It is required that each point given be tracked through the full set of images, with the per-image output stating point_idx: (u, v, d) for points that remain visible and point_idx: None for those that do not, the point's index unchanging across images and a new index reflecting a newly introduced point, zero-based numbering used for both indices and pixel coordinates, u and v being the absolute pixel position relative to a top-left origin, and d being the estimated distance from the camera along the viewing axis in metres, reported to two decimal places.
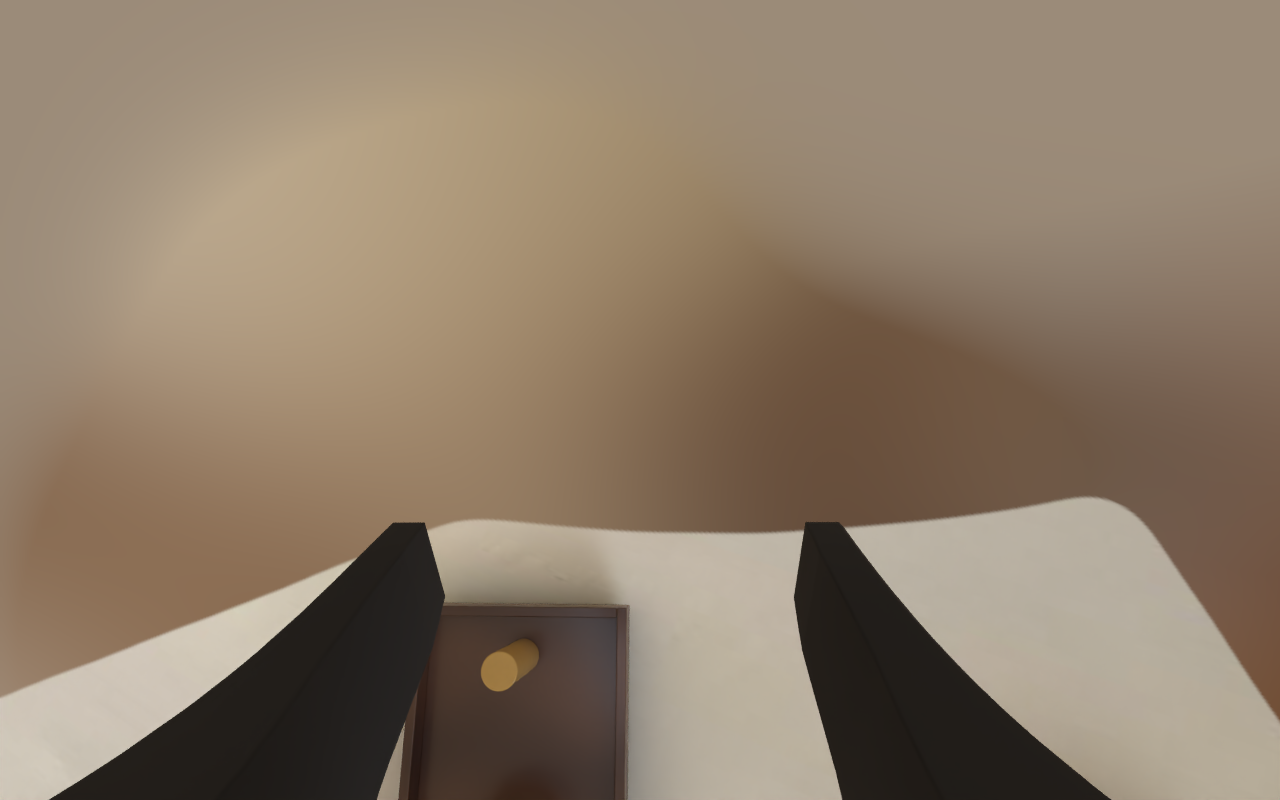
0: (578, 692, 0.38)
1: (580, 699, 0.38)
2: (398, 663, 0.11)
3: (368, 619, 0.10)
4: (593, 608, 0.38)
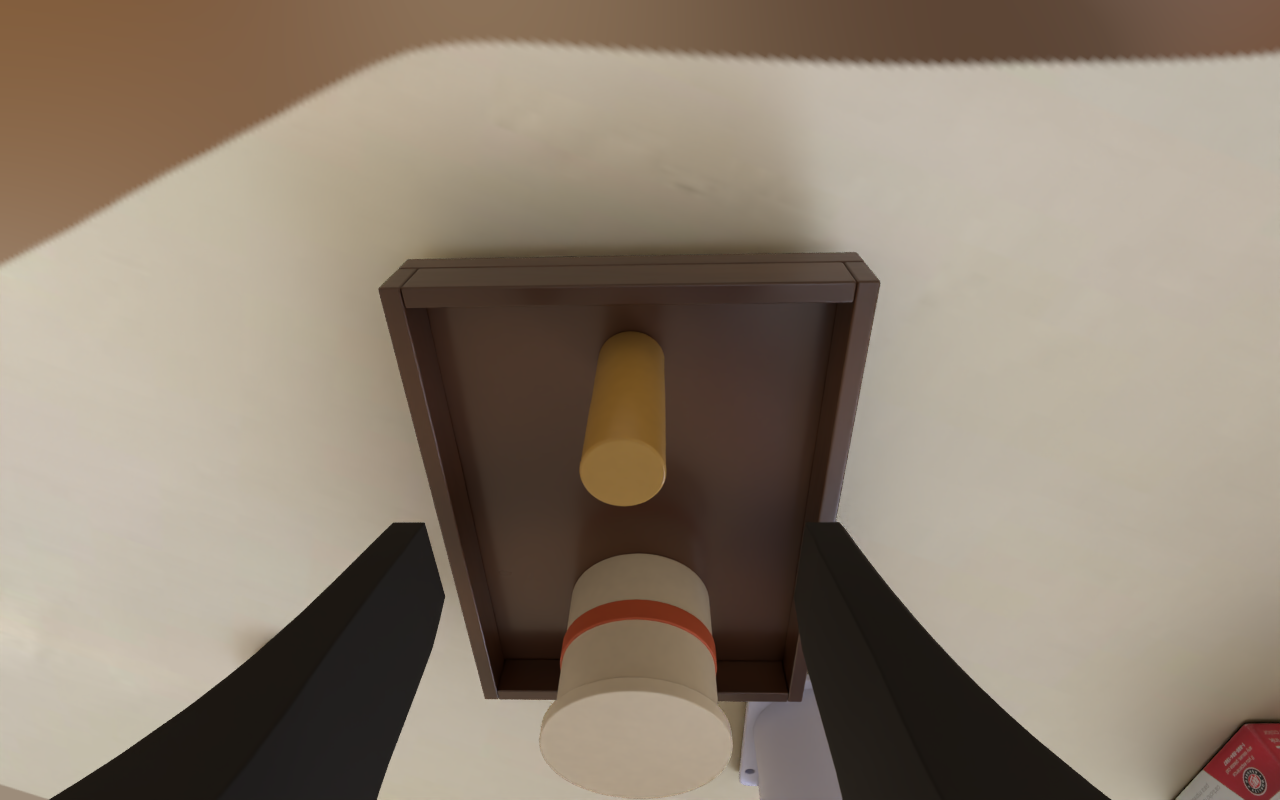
0: (744, 416, 0.20)
1: (746, 426, 0.20)
2: (398, 663, 0.11)
3: (368, 619, 0.10)
4: (801, 284, 0.16)
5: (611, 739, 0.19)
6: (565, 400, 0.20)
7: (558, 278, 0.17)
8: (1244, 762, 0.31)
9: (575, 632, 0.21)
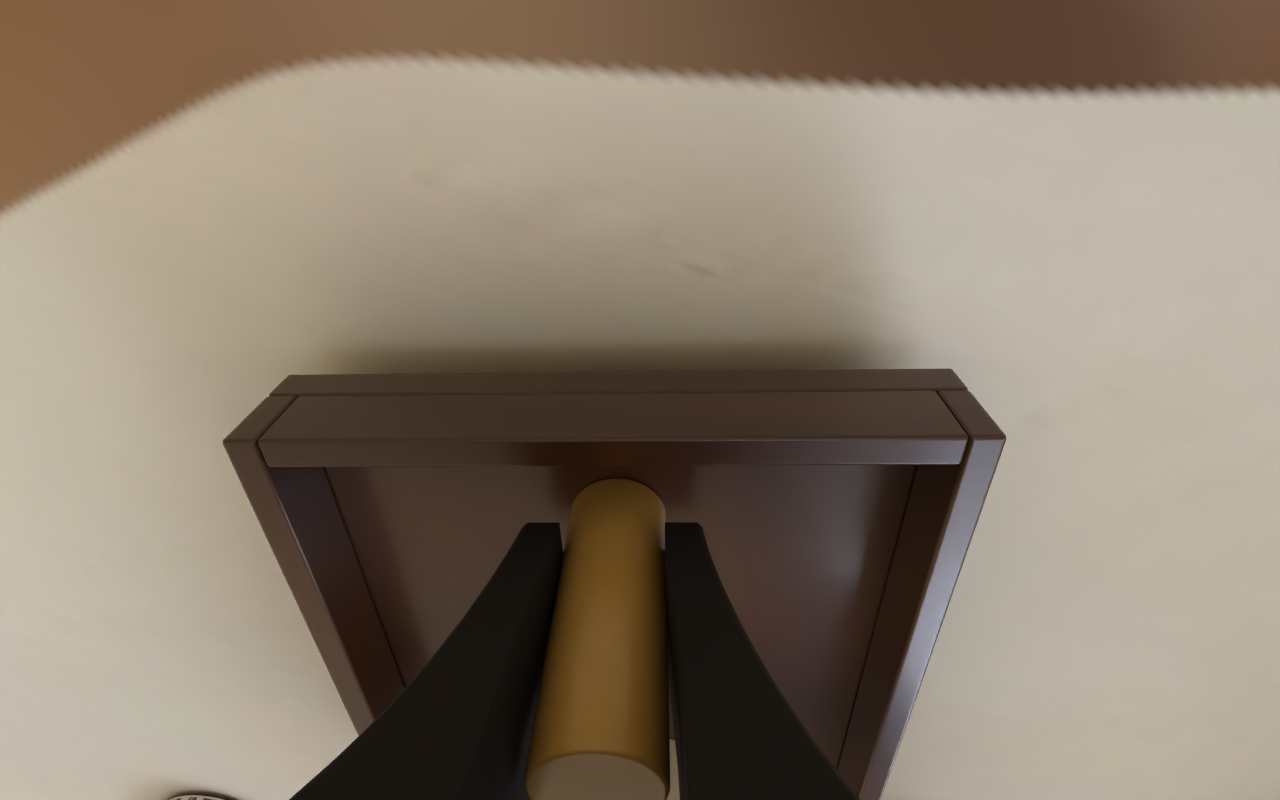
0: (778, 582, 0.14)
1: (781, 594, 0.14)
2: None
3: (531, 620, 0.10)
4: (881, 439, 0.10)
5: None
6: None
7: (503, 421, 0.11)
8: None
9: None
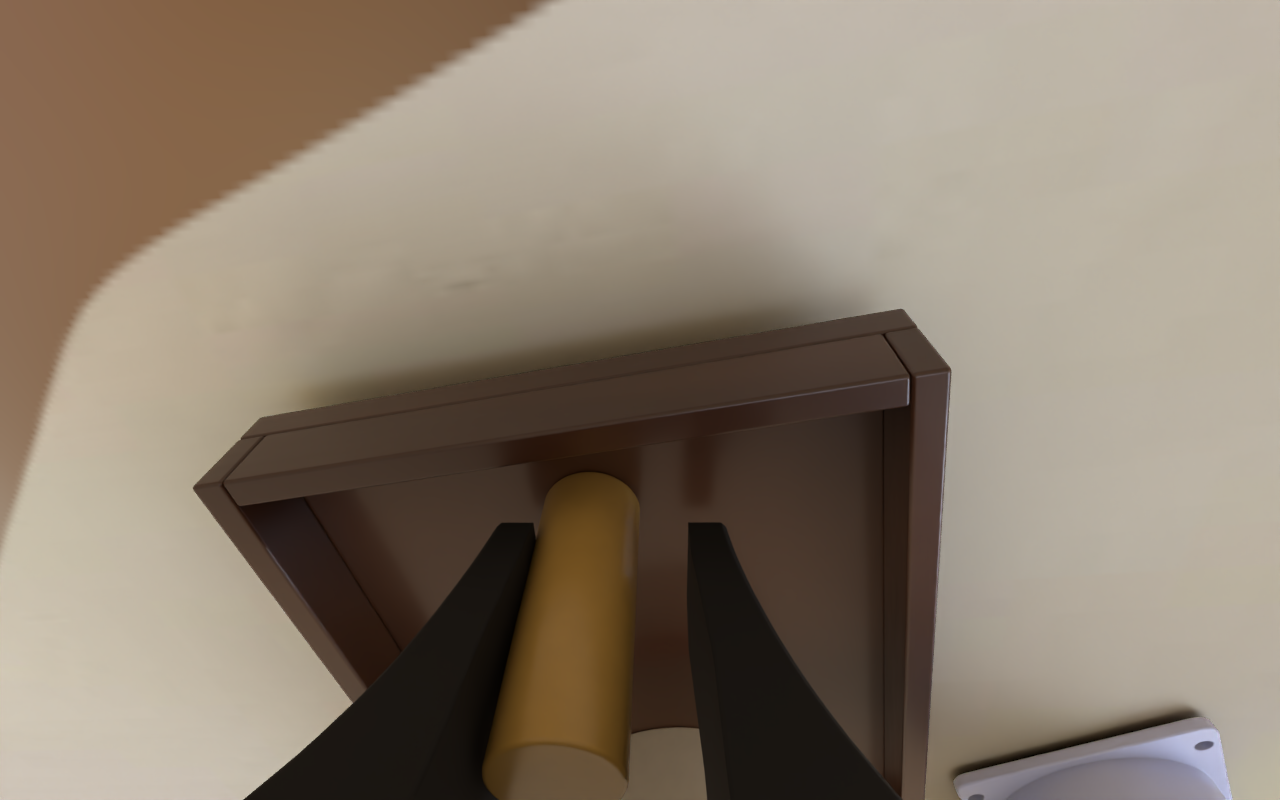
0: (771, 556, 0.14)
1: (777, 567, 0.14)
2: None
3: (499, 620, 0.10)
4: (817, 392, 0.10)
5: None
6: None
7: (445, 431, 0.11)
8: None
9: None
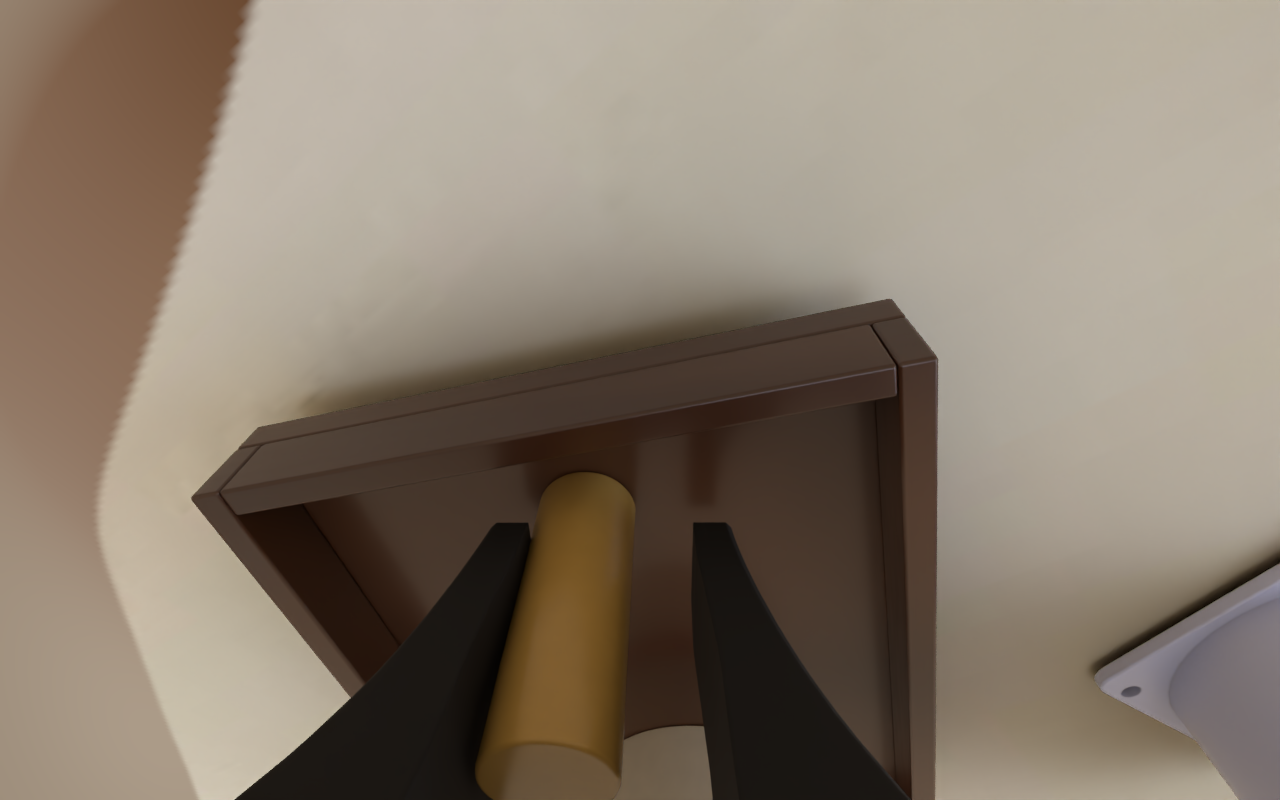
0: (769, 551, 0.14)
1: (776, 563, 0.14)
2: None
3: (493, 620, 0.10)
4: (803, 385, 0.10)
5: None
6: None
7: (436, 435, 0.11)
8: None
9: None
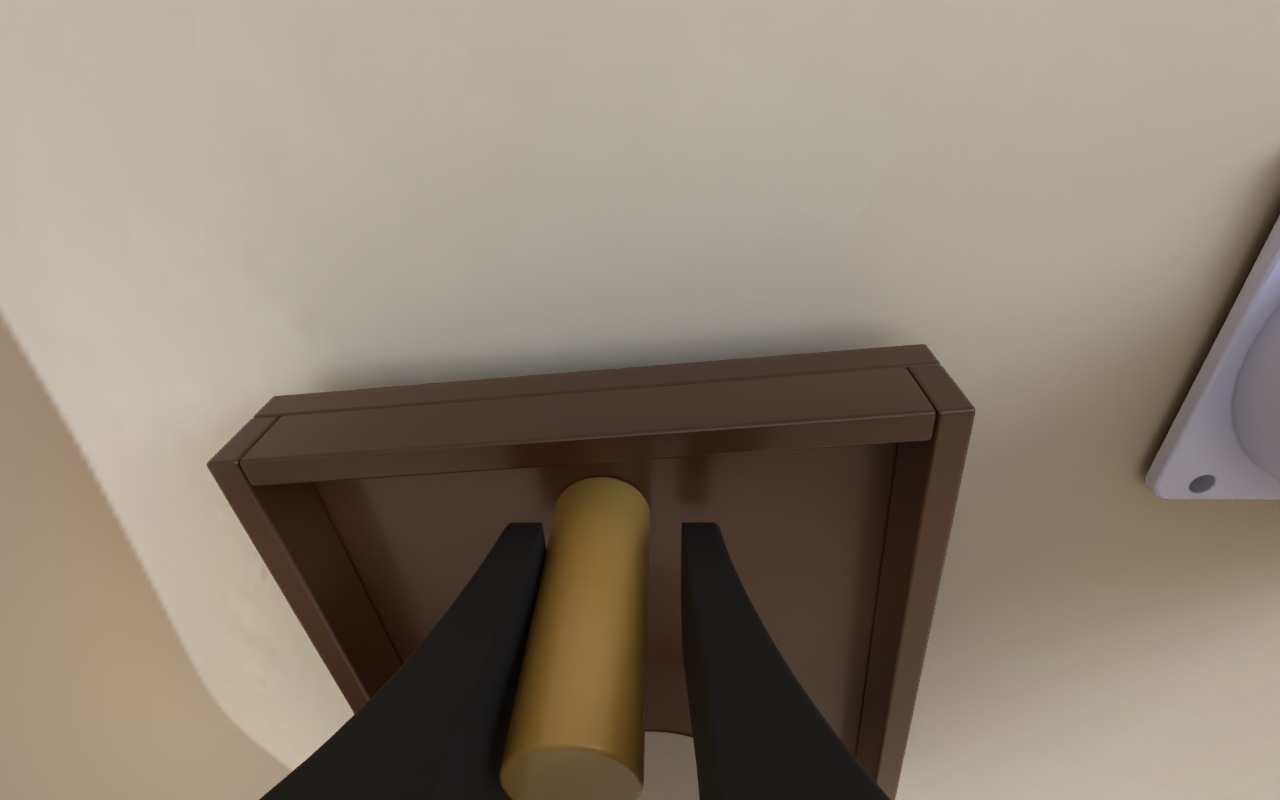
0: (771, 571, 0.14)
1: (776, 583, 0.14)
2: None
3: (510, 620, 0.10)
4: (846, 420, 0.10)
5: None
6: None
7: (472, 427, 0.11)
8: None
9: None
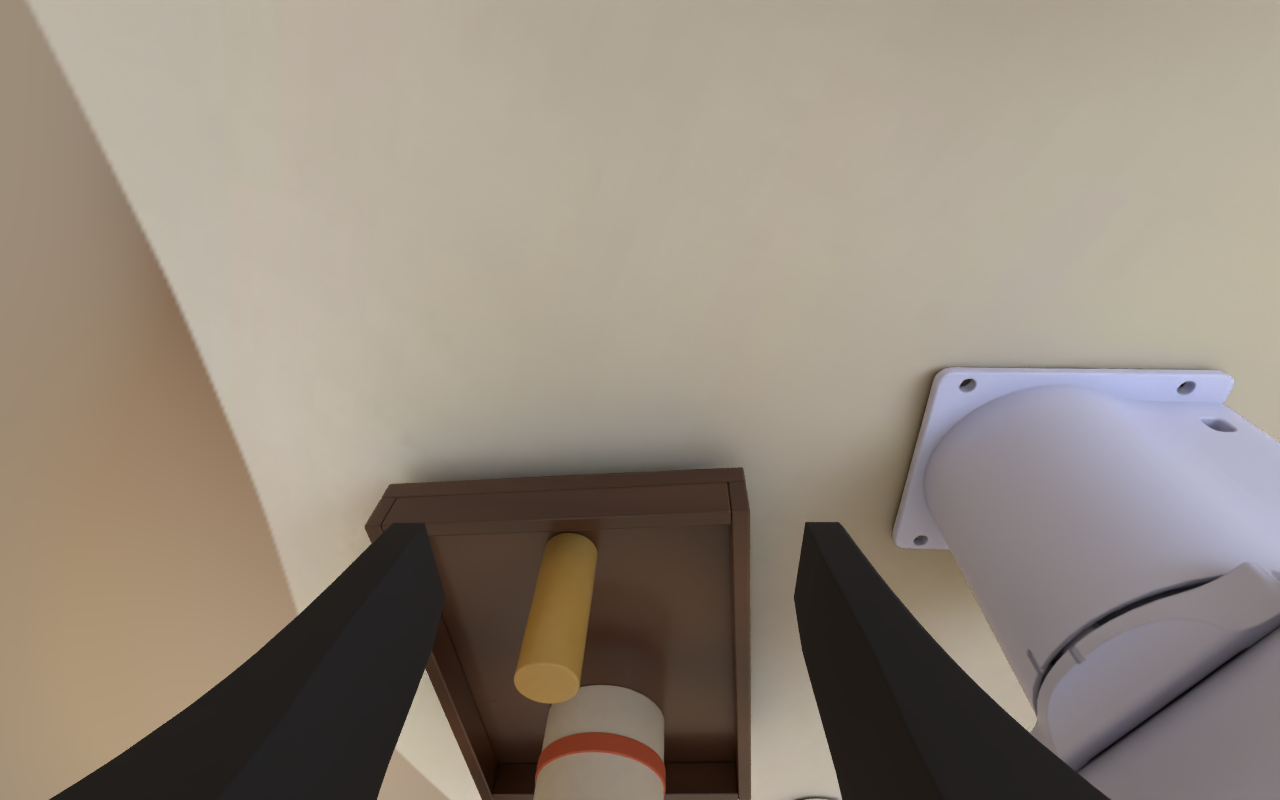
0: (668, 586, 0.24)
1: (672, 593, 0.24)
2: (398, 663, 0.11)
3: (368, 619, 0.10)
4: (687, 514, 0.20)
5: None
6: (522, 579, 0.24)
7: (501, 510, 0.21)
8: None
9: (544, 760, 0.26)
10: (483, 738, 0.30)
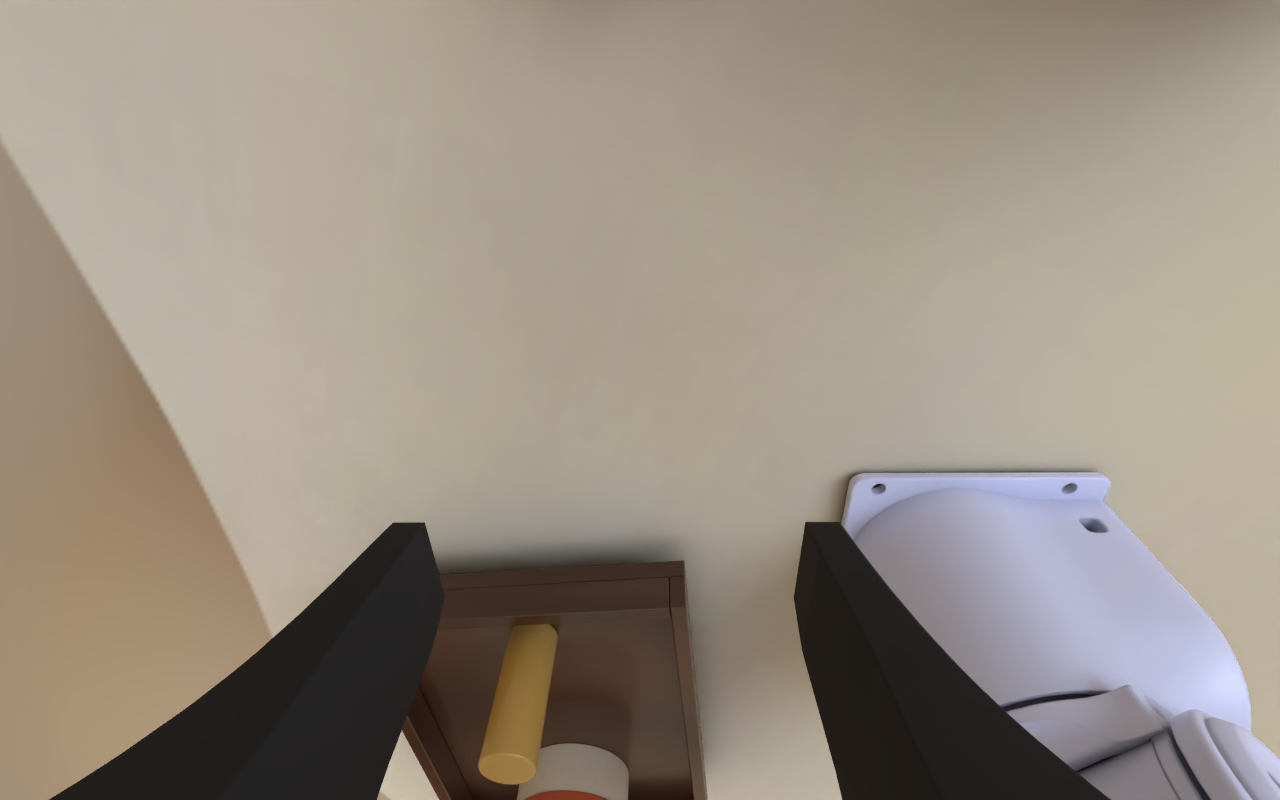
0: (623, 661, 0.27)
1: (627, 666, 0.27)
2: (398, 663, 0.11)
3: (368, 619, 0.10)
4: (631, 610, 0.23)
5: None
6: (492, 658, 0.27)
7: (467, 607, 0.24)
8: None
9: None
10: (463, 791, 0.32)
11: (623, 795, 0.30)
